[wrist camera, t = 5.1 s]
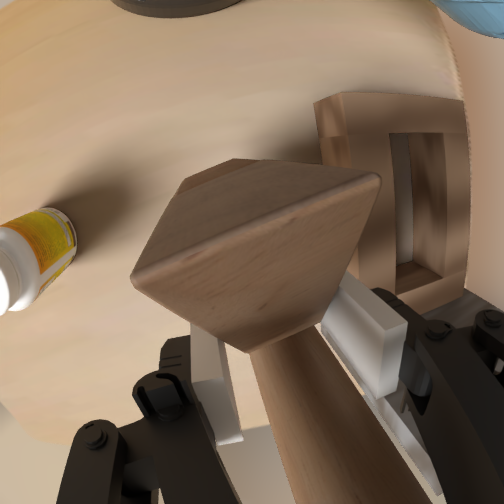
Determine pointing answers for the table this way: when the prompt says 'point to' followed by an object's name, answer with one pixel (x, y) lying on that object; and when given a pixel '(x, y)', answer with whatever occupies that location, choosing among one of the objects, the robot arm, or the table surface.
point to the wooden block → (281, 310)
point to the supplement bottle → (33, 255)
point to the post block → (424, 220)
